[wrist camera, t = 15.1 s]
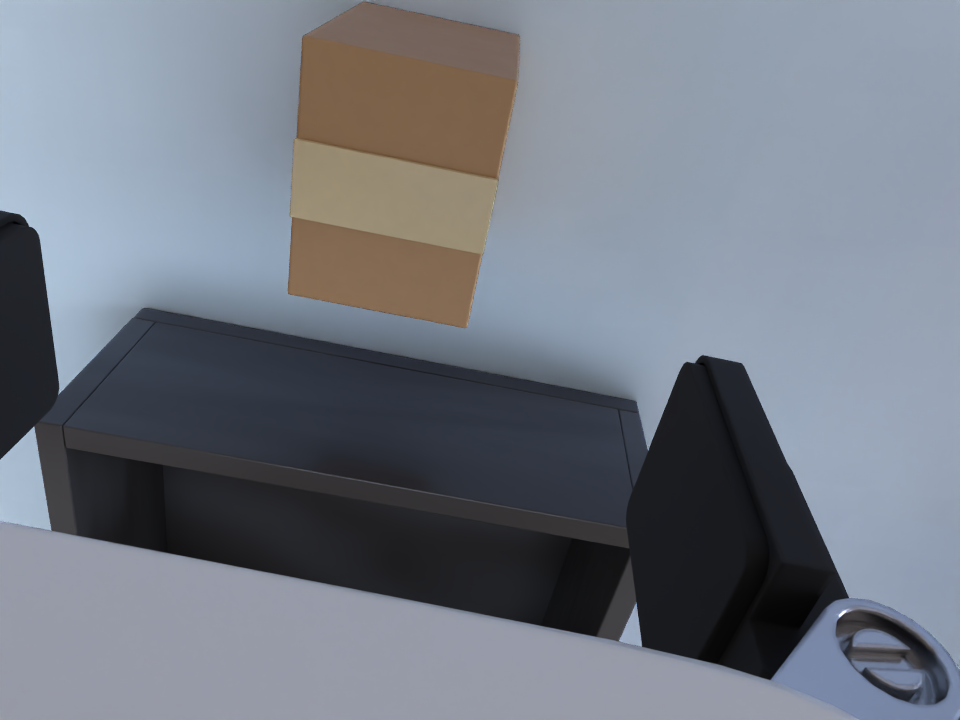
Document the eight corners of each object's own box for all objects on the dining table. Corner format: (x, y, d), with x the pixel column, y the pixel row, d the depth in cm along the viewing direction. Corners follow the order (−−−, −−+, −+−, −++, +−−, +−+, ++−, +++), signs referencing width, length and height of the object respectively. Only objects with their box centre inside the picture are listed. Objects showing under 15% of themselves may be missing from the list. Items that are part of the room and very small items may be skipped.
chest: (142, 306, 26) (32, 420, 20) (637, 400, 27) (667, 535, 21) (158, 569, 33) (80, 710, 27) (549, 636, 34) (554, 786, 28)
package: (362, 0, 20) (299, 35, 15) (520, 35, 21) (519, 81, 15) (342, 204, 24) (285, 297, 18) (480, 231, 24) (467, 332, 18)
